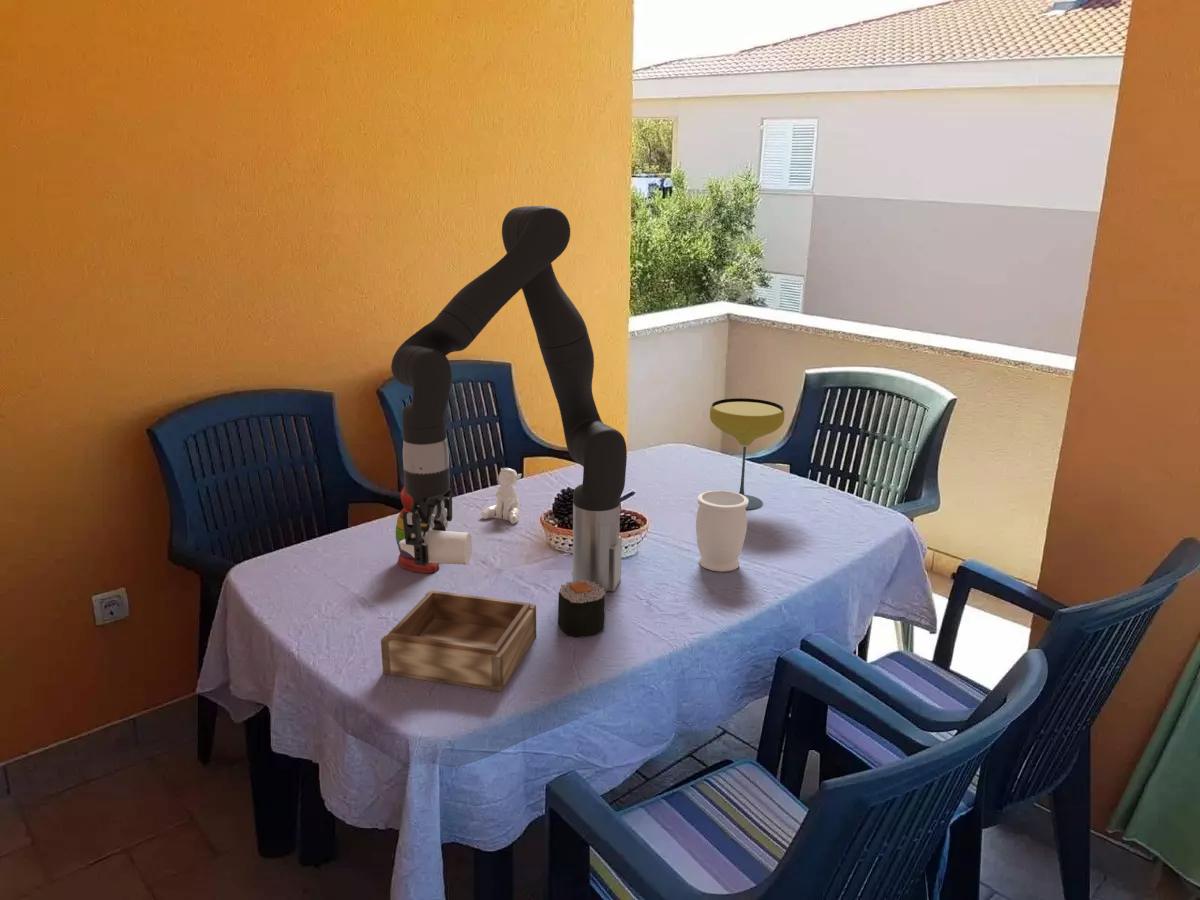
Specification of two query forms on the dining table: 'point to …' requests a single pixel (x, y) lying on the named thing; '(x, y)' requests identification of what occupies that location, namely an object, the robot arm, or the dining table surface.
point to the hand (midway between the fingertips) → (431, 555)
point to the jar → (721, 529)
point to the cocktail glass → (747, 426)
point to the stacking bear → (404, 557)
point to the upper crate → (460, 622)
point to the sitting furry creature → (505, 498)
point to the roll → (445, 547)
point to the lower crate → (460, 659)
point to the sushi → (581, 608)
